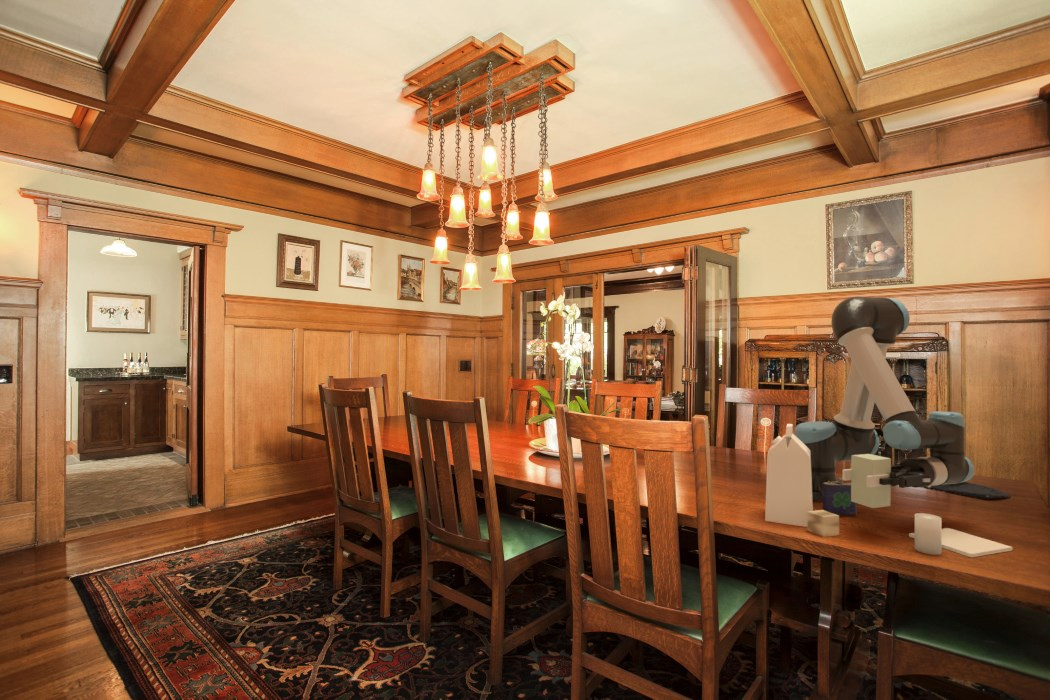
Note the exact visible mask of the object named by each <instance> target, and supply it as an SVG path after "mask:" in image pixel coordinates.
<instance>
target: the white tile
mask: <svg viewBox="0 0 1050 700" xmlns="http://www.w3.org/2000/svg"><path fill="white" fill-rule="evenodd" d="M908 537H909V538H912V539H914V540H915V532H911V533H908ZM942 549H944V550H947V551H950V552H953V553H956V554H959V555H963V556H965V557H968V558H970V559H971V558H977V557H981V556H982V557H983V556H989V555H994V554H1001V553H1005V552H1011V551H1013V546H1011V545H1006V544H1003V543H1000V542H997V541H995V540H994V541H992V540H990V539H987V538H984V537H980V536H976V535H973V534H970V533H967V532H963V531H960V530H957V529H953V528H949V527H944V528H942Z"/></svg>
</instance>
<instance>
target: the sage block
mask: <svg viewBox="0 0 1050 700" xmlns="http://www.w3.org/2000/svg"><path fill="white" fill-rule="evenodd" d="M850 463H851V464H850V466H851V467H850V469H851V480H850V483H851V501H852V502H855V503H856V504H859V505H862V506H864V507H868V508H871V509H877V508H886V507H891V494H892V493H891V491H892V490H891V488H892V486H891V485H889V486H879V487H870V488H869V487H866V477H867V476H871V475H882V474H888V475H889V477H890V472H891V466H892V458H890V457H886V456H881V455H876V454H874V455H872V454H860V455H852V457H851V461H850Z"/></svg>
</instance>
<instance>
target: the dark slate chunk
mask: <svg viewBox="0 0 1050 700" xmlns="http://www.w3.org/2000/svg"><path fill="white" fill-rule="evenodd" d="M930 488H931V489H930V490H933V489H935V490H934V491H937V490H940V491H939V492H942V491H945V492H944V493H948V492H951V493H950V494H954V493H956V494H955V495H959V494H961V495H960V496H964V495H966V496H965V497H969V496H971V497H970V498H974V497H976V498H975V499H981V498H982V500H990V498H991V499H1009V498H1010V496H1011V494H1009V493H1007V492H1005V491H1002V490H1000V489H998V488H996V487H989V486H986V485H981V484H976V483H971V482H969V481H965V482H962V483H958V484H943V485H934V486H931V487H930ZM925 489H928V487H927V486H926V488H925Z"/></svg>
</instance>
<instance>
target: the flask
mask: <svg viewBox="0 0 1050 700" xmlns="http://www.w3.org/2000/svg"><path fill="white" fill-rule="evenodd" d="M832 482H834V481H832ZM832 482H829V481H828V482H825V483H823V484H822V487H823V489H822V490H823V491H822V492H823V501H822V510H825V511H827V512H830V513H833V514H836V515H839V517H855V516H857V515H858V514H857V513H858V512H857V503H855V502H852V501H851V482H844V480H842V477H839V476H838V477H837V481H835V482H834V483H832Z"/></svg>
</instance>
